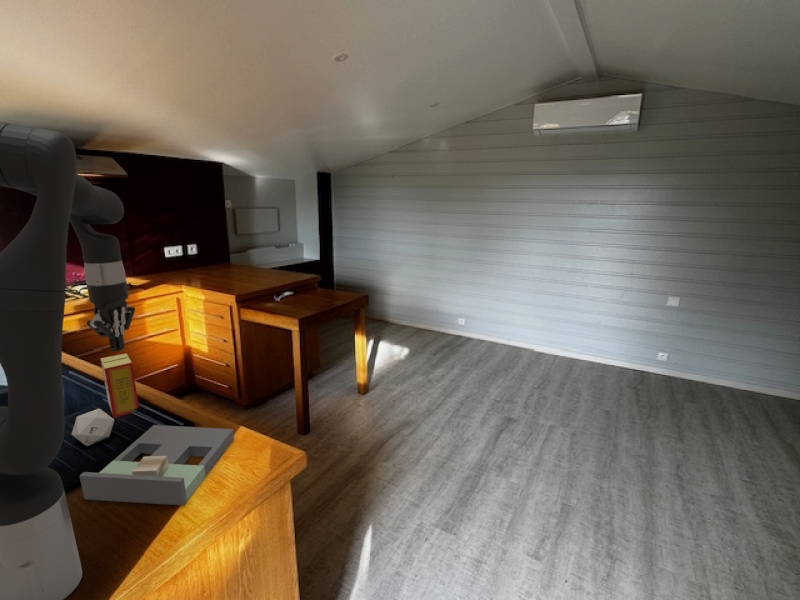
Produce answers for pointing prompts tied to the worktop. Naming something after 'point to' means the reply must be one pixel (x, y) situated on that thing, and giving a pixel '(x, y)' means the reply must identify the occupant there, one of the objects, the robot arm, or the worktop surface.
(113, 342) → the robot arm
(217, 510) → the worktop surface
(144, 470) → the birch block
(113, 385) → the baking soda box
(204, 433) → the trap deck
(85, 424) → the die
